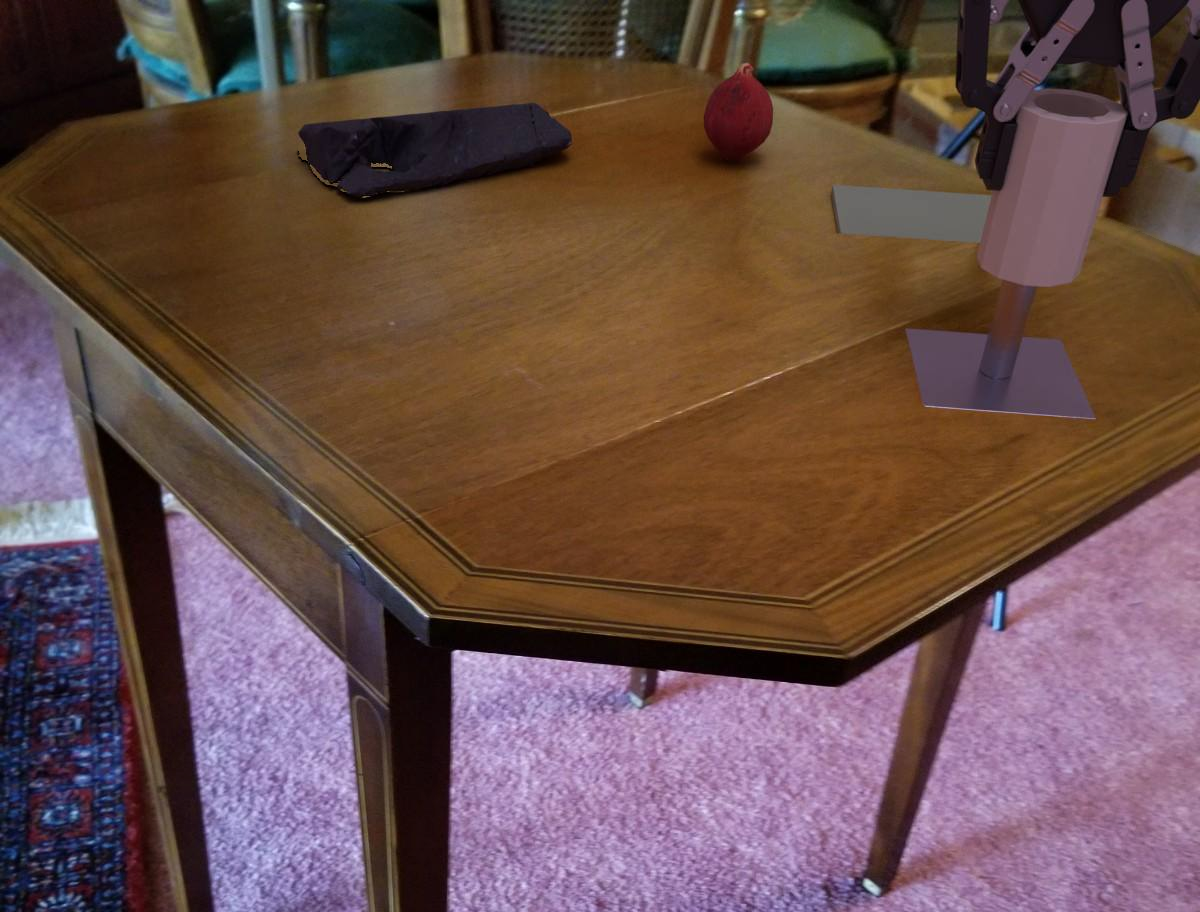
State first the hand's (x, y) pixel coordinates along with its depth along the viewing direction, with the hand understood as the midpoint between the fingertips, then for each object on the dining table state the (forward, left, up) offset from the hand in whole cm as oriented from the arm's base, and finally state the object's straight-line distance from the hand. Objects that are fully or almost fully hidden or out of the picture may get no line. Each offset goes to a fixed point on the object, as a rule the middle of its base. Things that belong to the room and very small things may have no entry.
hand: (1048, 187), depth 67 cm
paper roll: (0, 0, -5) cm, 5 cm away
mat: (+1, -22, -13) cm, 25 cm away
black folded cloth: (+41, -33, -13) cm, 54 cm away
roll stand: (0, 0, -13) cm, 13 cm away
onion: (+16, -37, -13) cm, 42 cm away
